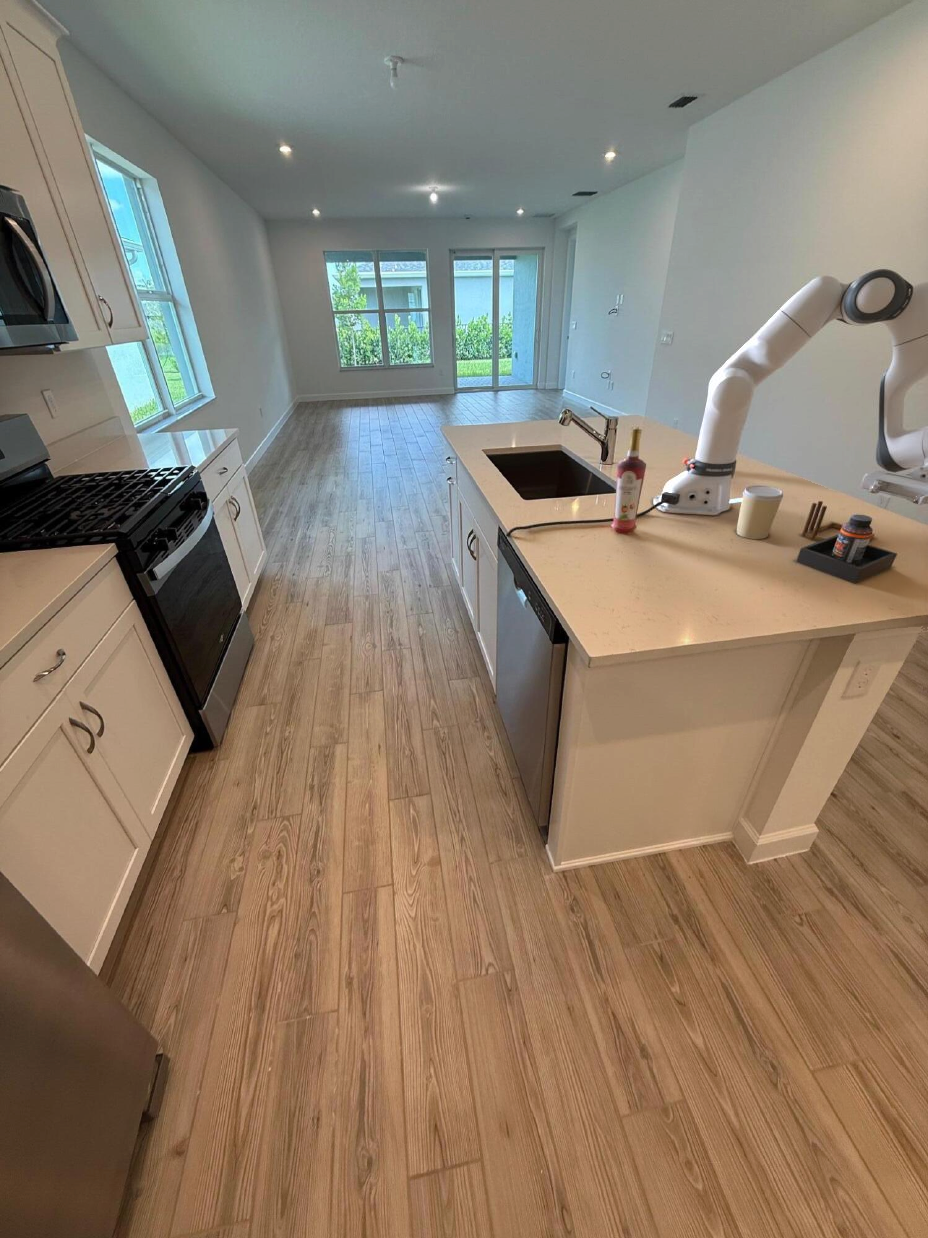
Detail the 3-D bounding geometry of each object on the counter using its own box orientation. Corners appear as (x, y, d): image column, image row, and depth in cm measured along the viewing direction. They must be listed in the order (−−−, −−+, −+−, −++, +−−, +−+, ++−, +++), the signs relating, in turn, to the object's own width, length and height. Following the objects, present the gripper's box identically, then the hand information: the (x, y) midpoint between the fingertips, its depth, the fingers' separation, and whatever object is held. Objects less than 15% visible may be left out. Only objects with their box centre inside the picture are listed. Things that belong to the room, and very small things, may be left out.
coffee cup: (768, 528, 141) (780, 486, 135) (773, 541, 134) (787, 497, 127) (731, 525, 144) (741, 484, 137) (734, 538, 136) (746, 495, 130)
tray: (855, 583, 113) (861, 569, 111) (796, 561, 123) (800, 548, 121) (891, 567, 119) (897, 553, 117) (831, 547, 129) (836, 534, 127)
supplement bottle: (823, 557, 123) (839, 513, 117) (846, 555, 123) (864, 511, 117) (841, 568, 118) (859, 522, 112) (865, 566, 118) (884, 520, 112)
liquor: (638, 527, 146) (653, 425, 131) (634, 536, 140) (649, 431, 125) (612, 524, 149) (624, 424, 134) (607, 533, 143) (619, 430, 128)
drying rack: (843, 549, 128) (857, 515, 123) (800, 535, 136) (811, 503, 131) (873, 538, 133) (887, 505, 128) (830, 525, 141) (841, 493, 136)
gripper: (884, 461, 129) (852, 470, 124) (984, 481, 114) (952, 493, 109) (874, 486, 133) (843, 495, 127) (970, 508, 117) (939, 520, 112)
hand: (894, 494), depth 118 cm, fingers open, 8 cm apart
